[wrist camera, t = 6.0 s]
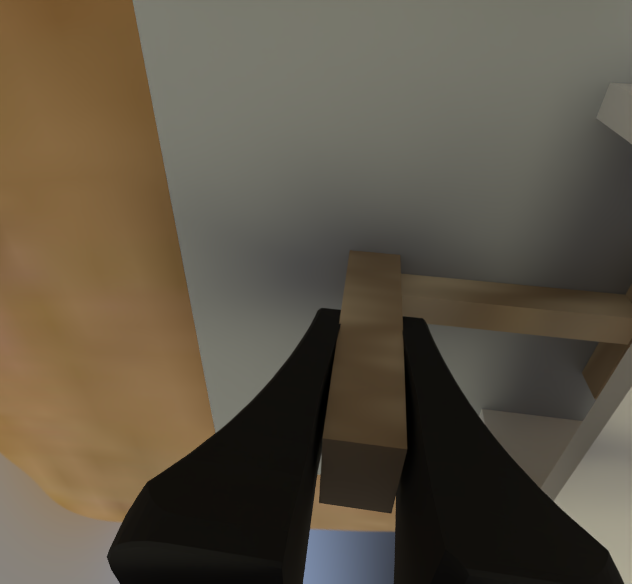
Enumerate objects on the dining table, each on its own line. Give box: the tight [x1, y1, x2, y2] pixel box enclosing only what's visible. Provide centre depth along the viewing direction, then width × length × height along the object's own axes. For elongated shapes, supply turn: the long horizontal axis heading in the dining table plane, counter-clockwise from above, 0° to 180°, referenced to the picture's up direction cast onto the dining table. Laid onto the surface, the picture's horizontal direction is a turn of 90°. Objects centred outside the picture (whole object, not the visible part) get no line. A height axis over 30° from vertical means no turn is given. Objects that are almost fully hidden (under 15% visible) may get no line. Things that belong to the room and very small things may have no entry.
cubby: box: [133, 0, 632, 584], centre depth 12 cm, size 21×25×6 cm
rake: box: [319, 250, 632, 513], centre depth 11 cm, size 10×6×7 cm, turn 89°
